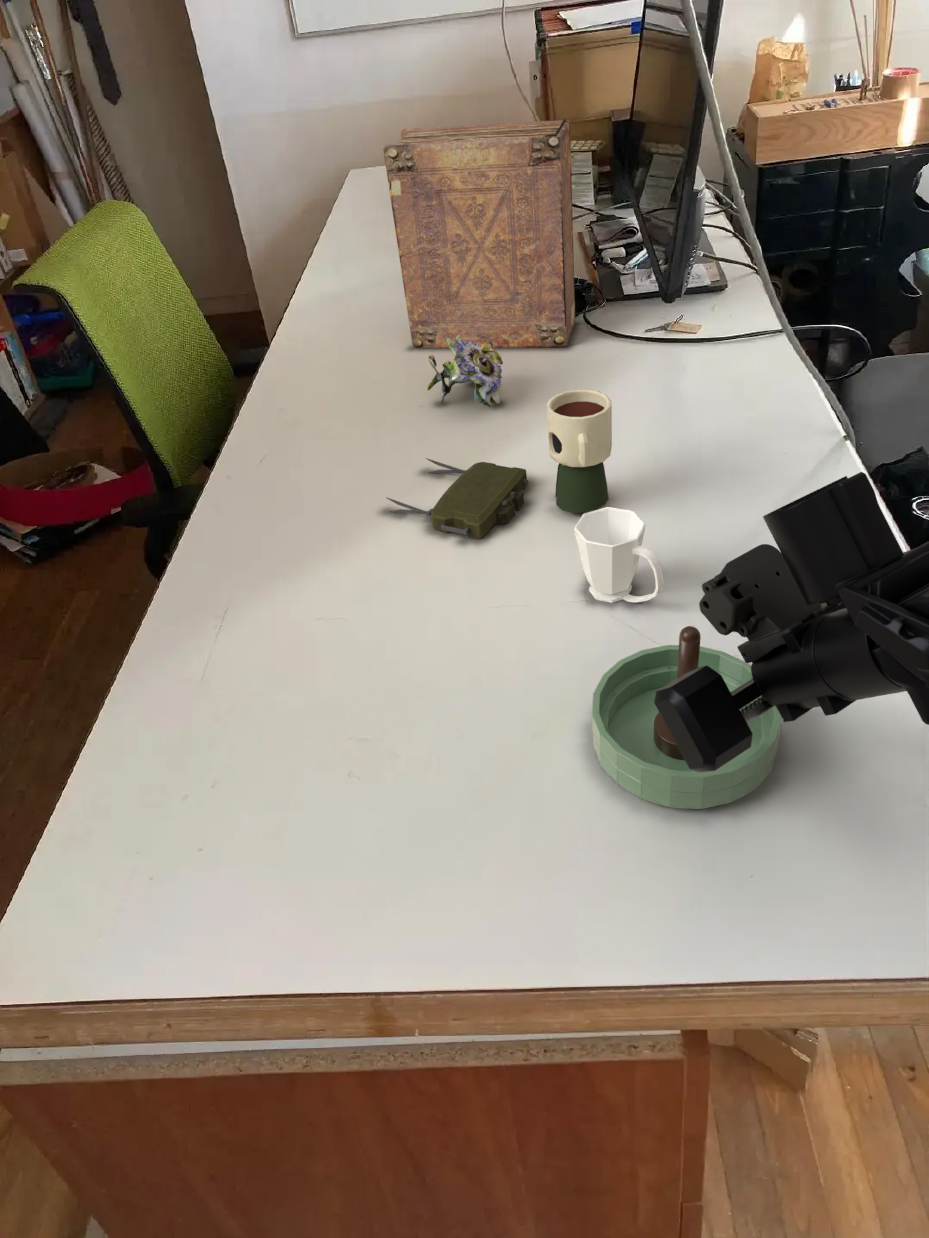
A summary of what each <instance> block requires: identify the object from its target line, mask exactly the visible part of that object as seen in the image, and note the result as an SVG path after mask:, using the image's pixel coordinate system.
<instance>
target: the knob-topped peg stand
mask: <svg viewBox="0 0 929 1238" xmlns="http://www.w3.org/2000/svg"><path fill="white" fill-rule="evenodd" d="M701 635H702V634H701V632H700V630H699V629H698V628H696V626H691V625H687V626H685V627H683V628H682V629H681V630H680V632H679V637H678V645H679V653H678V671H677V678H679V677H681V676H682V675H684V674H686V673H688V672H690V671H691V670H695V669H697V668H698V666H699V652H700V646H701V640H702V639H701ZM654 742H655V744H656V746H657V747H658V749H659V750H660V751H661V752H662V753H664V754H665V755H667V756H669V757H671V758H674V759H678V760H684V758H683V756H682V754H681V752H680V750H679V748H678V747H677V745H676V743H675V741H674V739H673V737H672V735H671V733H670V732H669V730H668V728H667V726H666V724H665V722H664V720H663V718H662V717H661V715H660V713H658V714H657V715H656V717H655V720H654Z"/></svg>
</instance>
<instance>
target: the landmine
mask: <svg viewBox="0 0 929 1238" xmlns="http://www.w3.org/2000/svg"><path fill="white" fill-rule="evenodd" d="M425 460H427V461H429V462H431V463H433V464H435V465H436V466H439V467H442V468H444V469H436V470H432V471H431V470H430V471H429V472H428V473H429V474H432V473H434V474H457V475H458V474H459V476H458V477H457V479H456V480H455V481H454V482H453V483H452V484H451V485H450V486H449V487H448V488H447V489H446V491H444V492H443V494H442V495H441V497H440V498H439V499H438V501H437V502H436V504H435V505H434V507H433V508H430V509H428V510H423V509H421V508H418V507H416V506H413V505H411V504H407V503H404V502H401V501H398V500H396V499H393V498H390V497H388V496H386V497H385V498H386V500H389V501H390V502H392V503H394V504H396V505H398V506H400V507H403V508H405V509H401V508H400V509H399V508H398V509H395V510H389V513H399V514H414V515H415V514H416V515H424V516H426V517H428V518H430V517H431V524H432V528H433V530H436V531H439V532H443V533H455V534H459V535H464V536H467V537H469V538H473V539H477V540H480V539H482V538H483V537H484V536H486V534H487V533H489V531H490V530H491V529H492V528H493V526H495V524H497V525H505V524H508V523H509V522H510V521H511V520H512V518H513V517H515V516H516V511H517V512H519V511H520V509H521V507H522V506H523V505H524V504H525V496H524V489H525V488H526V487H527V486H528V485H529V479H528V477H527V476H528V475H527V469H525V468H522V467H521V468H520V467H515V466H513V467H509V466H504V465H498V464H496V463H493V462H487V461H480V462H479V461H478V462H476V463H474V464H472V465H471V466H470V467H469V468H467V469H466V470H465V469H460V468H459V467H455V466H452V465H448V464H445V463H442V462H439V461H436V460H433V459H430V458H427V457H425Z"/></svg>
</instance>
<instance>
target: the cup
mask: <svg viewBox="0 0 929 1238" xmlns="http://www.w3.org/2000/svg"><path fill="white" fill-rule="evenodd" d="M646 526H647V524H646V523H645V521H644V520H642V518H641V517H640V516H639V515H638V514H637V513H636V512H635V511H634V510H631V509H624V508H618V507H611V506H606V507H605V506H604V507H601V508H598V509H596V510H591V511H587V512H584V513H583V514H582V515H581V517H580V518H579V520H578V522H577V523H576V524H575V526H574V528H573V529H574V535H575V539H576V542H577V548H578V551H579V557H580V561H581V566H582V569H583V572H584V574H585V578H586V580H587V583H588V584H589V587H588V592H589V593H590V594H591V596H593V598H594V599H595V600H596V601H599V602H606V603H610V604H614V603H615V602H620V601H622V600H623V601H625V602H627V603H641V602H642V603H643V602H647V601H650V600H652V599H653V598H654V597H657V596H658V595H659V594H660V593H661V592H662V589H663V587H664V575H663V571H662V566H661V564H660V562H659V560H658V558H657V556H656V555H655V554H654V553H653V552H652V551H651V550H650V549H648V548H646V547H645V546H643V541H644V536H645V530H646ZM640 557H643V558H644V559H646V560H647V561H648V563H649V566H650V567H651V568H652V570H653V575H654V581H655V589H654V591H653V593H649V594H646V595H645V594H644V595H632V594H630V592H631V591H632V589H633V586H632V582H633V580H634V577H635V573H636V572H637V568H638V565H639V561H640Z"/></svg>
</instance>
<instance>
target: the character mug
mask: <svg viewBox="0 0 929 1238" xmlns="http://www.w3.org/2000/svg"><path fill="white" fill-rule="evenodd" d="M612 403H613V402H612V399H611V398H610V397H609V395H607V394H605V393H603V392H601V391H599V390H595V389H587V388H586V389H585V388H584V389H583V388H582V389H571V390H566V391H563V392H561V393H558V394H556V395H553V397H551V398H550V399H549V400H548V401H547V403H546V422H547V441H548V442H547V443H548V452H549V456H550V459H552V460H553V461H554V462H556V463H558V465H557V472H556V481H555V495H554V497H555V505H556V507H558V509H560V510H561V511H563V512H567V513H570V514H580V513H588V512H591V511H595V510H598V509H601V508H603V507H605V506H606V505H607V503H608V502H609V500H610V497H609V488H608V482H607V476H606V471H605V464H604V462H606V461H607V459H608V458H609V457H611V454H612V447H613V423H612V422H613V419H612V418H613V415H612V414H613V413H612V412H613V410H612V409H613V406H612V405H613V404H612Z"/></svg>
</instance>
